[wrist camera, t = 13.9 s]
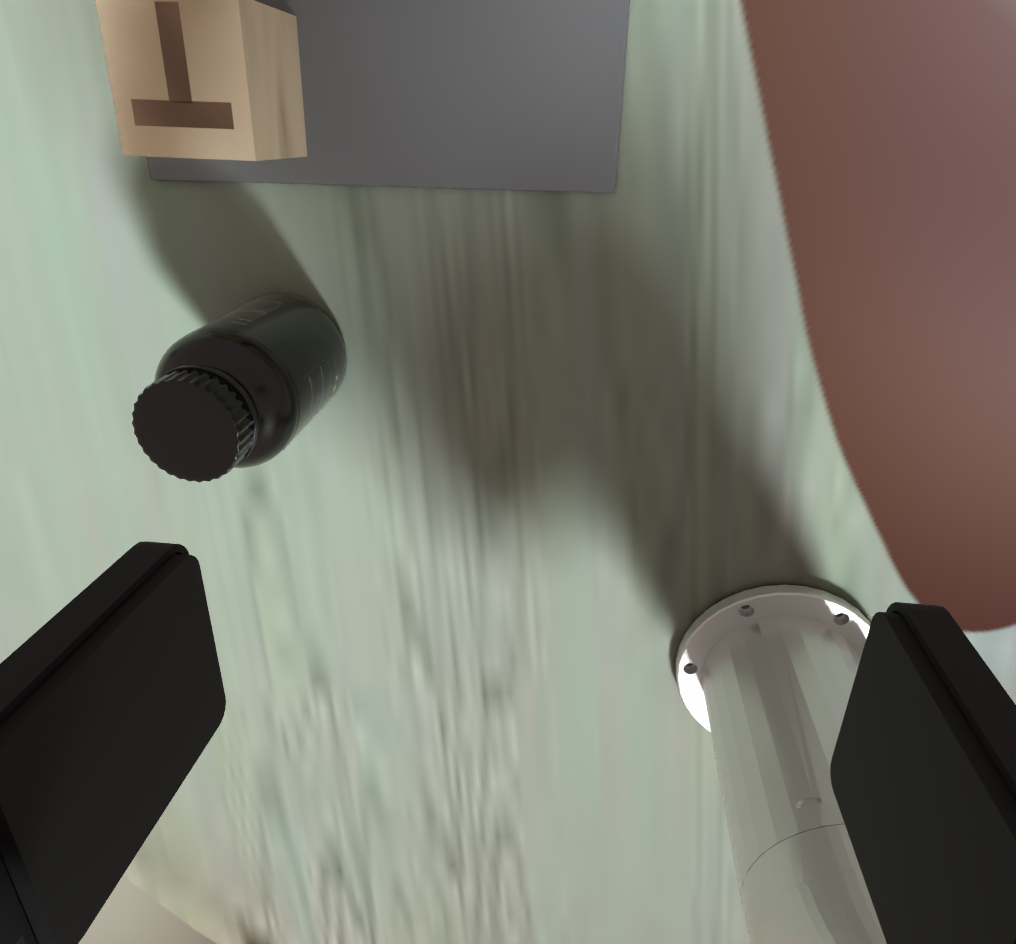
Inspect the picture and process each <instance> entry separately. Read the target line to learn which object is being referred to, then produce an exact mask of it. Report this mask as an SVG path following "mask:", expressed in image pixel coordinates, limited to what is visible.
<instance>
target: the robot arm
mask: <svg viewBox="0 0 1016 944" xmlns="http://www.w3.org/2000/svg"><path fill="white" fill-rule="evenodd" d="M676 678H677V684H678V690H679V694H680V696H681V698H682V701H683V703H684V705H685V707H686V708H687V710H688V711H689V712H690V714H691V715H692V717H693V718H694V719H695V720H696V721H697V722H698V723H699V724H701V725H702V726H703V727H704V728H705V729H706V730H708V731H709V732H711V736H712V741H713V747H714V752H715V758H716V763H717V769H718V775H719V780H720V786H721V791H722V797H723V802H724V808H725V813H726V819H727V824H728V830H729V835H730V841H731V846H732V852H733V857H734V863H735V868H736V874H737V880H738V885H739V891H740V896H741V901H742V906H743V911H744V917H745V922H746V927H747V932H748V935H749V939H750V943H751V944H1016V705H1015V704H1014V702H1013V701H1012V699H1011V698H1010V697H1009V695H1008V694H1007V692H1006V691H1005V690H1004V688H1003V687H1002V686H1001V684H1000V683H999V681H998V680H997V679H996V677H995V676H994V674H993V673H992V672H991V670H990V669H989V667H988V666H987V665H986V663H985V662H984V661H983V659H982V658H981V656H980V655H979V654H978V652H977V651H976V649H975V648H974V647H973V645H972V644H971V643H970V641H969V640H968V638H967V637H966V636H965V634H964V633H963V631H962V630H961V629H960V627H959V626H958V624H957V623H956V622H955V620H954V619H953V618H952V616H951V615H950V613H949V612H948V611H947V610H946V609H945V608H944V607H941V606H936V605H924V604H911V603H899V602H895V603H893V604H891V605H890V606H889V607H888V609H887V611H886V612H878V613H876V614H875V615H874V616H873V618H872V621H871V624H870V622H869V621H868V620H867V619H866V617H865V616H864V615H863V614H862V613H861V612H860V611H859V610H858V609H857V608H855V607H854V606H852V605H851V604H849V603H848V602H847V601H845V600H844V599H842V598H840V597H837V596H835V595H833V594H831V593H828V592H826V591H823V590H819V589H815V588H810V587H806V586H796V585H773V586H762V587H758V588H754V589H749V590H745V591H742V592H740V593H737V594H735V595H732V596H730V597H727V598H725V599H723V600H722V601H720V602H718V603H717V604H715V605H713V606H712V607H710V608H709V609H708V610H706V611H705V612H704V613H703V614H702V615H701V616H700V617H698V618H697V619H696V620H695V621H694V623H693V624H692V625H691V627H690V628H689V629H688V631H687V632H686V633H685V635H684V637H683V640H682V642H681V644H680V646H679V649H678V653H677V658H676ZM225 705H226V699H225V693H224V688H223V682H222V677H221V672H220V667H219V662H218V657H217V652H216V647H215V641H214V636H213V631H212V626H211V621H210V616H209V611H208V606H207V601H206V595H205V590H204V585H203V580H202V575H201V570H200V565H199V562H198V560H197V558H196V557H194V556H192V555H189V553H188V551H187V549H186V548H185V547H184V546H182V545H180V544H169V543H157V542H139V543H137V544H136V545H134V546H133V547H132V548H131V549H130V550H129V551H127V552H126V553H125V554H124V555H123V556H122V557H121V558H119V559H118V560H117V561H116V562H115V563H114V564H113V565H112V566H110V567H109V568H108V569H107V570H106V571H105V572H104V573H103V574H101V575H100V576H99V577H98V578H97V579H96V580H95V581H93V582H92V583H91V584H90V585H89V586H88V587H87V588H86V589H84V590H83V591H82V592H81V593H80V594H79V595H78V596H77V597H75V598H74V599H73V600H72V601H71V602H70V603H69V604H67V605H66V606H65V607H64V608H63V609H62V610H61V611H60V612H58V613H57V614H56V615H55V616H54V617H53V618H52V619H51V620H49V621H48V622H47V623H46V624H45V625H44V626H43V627H41V628H40V629H39V630H38V631H37V632H36V633H35V634H34V635H32V636H31V637H30V638H29V639H28V640H27V641H26V642H25V643H23V644H22V645H21V646H20V647H19V648H18V649H17V650H16V651H14V652H13V653H12V654H11V655H10V656H9V657H8V658H6V659H5V660H4V661H3V662H2V663H1V664H0V944H78V943H79V941H80V940H81V939H82V938H83V936H84V935H85V933H86V931H87V930H88V928H89V927H90V925H91V924H92V922H93V920H94V919H95V917H96V916H97V914H98V913H99V911H100V910H101V908H102V907H103V905H104V904H105V902H106V900H107V899H108V897H109V896H110V894H111V893H112V891H113V890H114V888H115V886H116V885H117V883H118V882H119V880H120V878H121V877H122V876H123V874H124V872H125V871H126V869H127V868H128V866H129V865H130V863H131V862H132V860H133V859H134V857H135V855H136V854H137V852H138V851H139V849H140V848H141V846H142V845H143V843H144V841H145V840H146V838H147V837H148V835H149V834H150V832H151V831H152V829H153V828H154V826H155V824H156V823H157V821H158V820H159V818H160V817H161V815H162V814H163V812H164V810H165V809H166V807H167V806H168V804H169V803H170V801H171V800H172V798H173V796H174V795H175V793H176V792H177V790H178V789H179V787H180V786H181V784H182V783H183V781H184V779H185V778H186V776H187V775H188V773H189V772H190V770H191V769H192V767H193V765H194V764H195V762H196V761H197V759H198V758H199V756H200V755H201V753H202V751H203V750H204V748H205V747H206V745H207V744H208V742H209V741H210V739H211V738H212V736H213V734H214V733H215V731H216V730H217V728H218V727H219V725H220V723H221V721H222V718H223V716H224V712H225Z"/></svg>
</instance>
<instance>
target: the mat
mask: <svg viewBox="0 0 1016 944" xmlns="http://www.w3.org/2000/svg"><path fill="white" fill-rule="evenodd" d="M254 1H257V2H260V3H262V4H265V5H268V6H270V7H273V8H276V9H278V10H281V11H284V12H286V13H289V14H292V15H294V16H296V19H297V32H298V44H299V57H300V70H301V82H302V95H303V107H304V120H305V132H306V145H307V157H298V158H286V159H274V160H263V161H242V160H219V159H195V158H172V157H148V156H147V159H148V165H149V170H150V176H151V180H185V181H220V182H255V183H290V184H325V185H361V186H396V187H431V188H466V189H501V190H536V191H571V192H606V193H615V188H616V175H617V162H618V149H619V136H620V123H621V110H622V96H623V83H624V70H625V57H626V44H627V31H628V18H629V5H630V0H254Z"/></svg>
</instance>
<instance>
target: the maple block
mask: <svg viewBox="0 0 1016 944" xmlns="http://www.w3.org/2000/svg"><path fill="white" fill-rule="evenodd" d="M95 2H96V7H97V13H98V18H99V24H100V29H101V35H102V40H103V46H104V51H105V57H106V63H107V68H108V74H109V79H110V85H111V90H112V96H113V101H114V107H115V112H116V118H117V124H118V129H119V135H120V140H121V146H122V151H123V155H124V156H148V157H172V158H195V159H219V160H242V161H263V160H274V159H286V158H298V157H307V145H306V132H305V120H304V107H303V95H302V82H301V70H300V57H299V44H298V32H297V19H296V16H294V15H292V14H289V13H286V12H284V11H281V10H278V9H276V8H273V7H270V6H268V5H265V4H262V3H260V2H257V1H254V0H95Z"/></svg>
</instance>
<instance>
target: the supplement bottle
mask: <svg viewBox="0 0 1016 944" xmlns="http://www.w3.org/2000/svg"><path fill="white" fill-rule="evenodd" d="M345 372H346V350H345V346H344V342H343V340H342V337H341V335H340V333H339V331H338V329H337V327H336V326H335V324H334V323H333V322H332V320H331V319H330V318H329V317H328V316H327V315H326V314H325V313H324V312H323V311H322V310H321V309H319V308H318V307H317V306H315V305H314V304H312V303H310V302H308V301H307V300H304V299H302V298H299V297H296V296H292V295H286V294H271V295H266V296H262V297H259V298H257V299H254V300H252V301H250V302H248V303H246V304H244V305H242V306H240V307H238V308H236V309H235V310H233V311H231V312H229V313H227V314H225V315H223V316H221V317H219V318H218V319H216V320H214V321H212V322H210V323H208V324H206V325H204V326H202V327H201V328H199V329H197V330H195V331H193V332H191V333H189V334H188V335H186V336H184V337H183V338H181V339H179V340H178V341H177V342H175V343H174V344H173V345H172V346H171V347H170V348H169V349H168V350H167V351H166V353H165V354H164V355H163V357H162V359H161V360H160V363H159V365H158V367H157V371H156V375H155V380H154V382H153V383H152V384H150V385H149V386H147V387H146V388H145V389H144V391H143V392H142V393H141V394H140V395H139V396H138V401H137V402H136V403H135V404H134V411H133V413H132V415H133V422H132V424H133V426H134V434H135V435H136V437H137V438H138V443H139V444H140V446H141V447H142V448H143V451H144V453H145V454H147V455H148V456H149V458H150V460H151V461H152V462H154V463H156V464H157V465H158V467H159V468H160V469H162V470H165V471H166V472H167V473H168V474H170V475H175V476H176V477H177V478H179V479H186V480H188V481H197V482H202V481H211V480H212V479H218V478H220V477H221V476H222V475H224V474H227V473H228V472H230V471H231V470H232V469H233V468H245V467H252V466H256V465H259V464H262V463H265V462H267V461H269V460H271V459H272V458H274V457H275V456H276V455H278V454H279V453H280V452H281V451H282V450H283V449H284V448H285V447H286V446H287V445H288V444H289V443H290V442H291V441H292V440H293V439H294V438H295V437H296V436H297V435H298V434H299V433H300V431H301V430H302V429H303V428H304V427H305V426H306V425H307V424H308V423H309V422H310V421H311V420H312V419H313V418H314V417H315V415H316V414H317V413H318V412H319V411H320V410H321V409H322V408H323V407H324V406H325V405H326V404H327V403H328V402H329V401H330V399H331V398H332V397H333V396H334V395H335V393H336V392H337V391H338V389H339V387H340V386H341V384H342V382H343V379H344V376H345Z"/></svg>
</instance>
